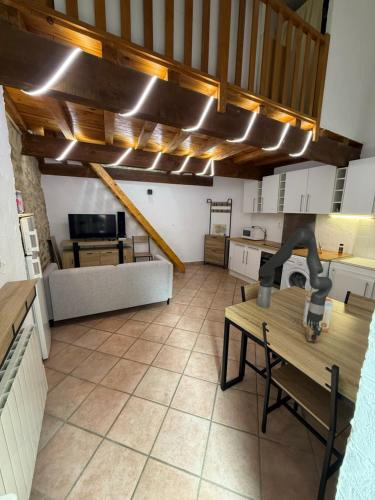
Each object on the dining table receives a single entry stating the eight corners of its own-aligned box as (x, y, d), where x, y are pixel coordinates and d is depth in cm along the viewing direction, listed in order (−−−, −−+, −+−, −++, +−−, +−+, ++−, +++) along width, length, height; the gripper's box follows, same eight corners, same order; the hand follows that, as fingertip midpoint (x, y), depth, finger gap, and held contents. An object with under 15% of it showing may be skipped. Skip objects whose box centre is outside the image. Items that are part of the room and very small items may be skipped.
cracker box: (325, 328, 134) (330, 298, 130) (328, 332, 128) (333, 302, 124) (301, 323, 139) (306, 294, 135) (303, 327, 133) (307, 298, 129)
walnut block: (308, 340, 116) (310, 329, 115) (304, 335, 121) (306, 324, 119) (317, 341, 115) (319, 330, 114) (313, 336, 120) (315, 325, 119)
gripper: (303, 304, 122) (299, 329, 125) (314, 315, 108) (309, 344, 111) (317, 305, 121) (312, 330, 124) (329, 317, 107) (324, 345, 110)
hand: (311, 336), depth 118 cm, fingers closed on walnut block, 5 cm apart
